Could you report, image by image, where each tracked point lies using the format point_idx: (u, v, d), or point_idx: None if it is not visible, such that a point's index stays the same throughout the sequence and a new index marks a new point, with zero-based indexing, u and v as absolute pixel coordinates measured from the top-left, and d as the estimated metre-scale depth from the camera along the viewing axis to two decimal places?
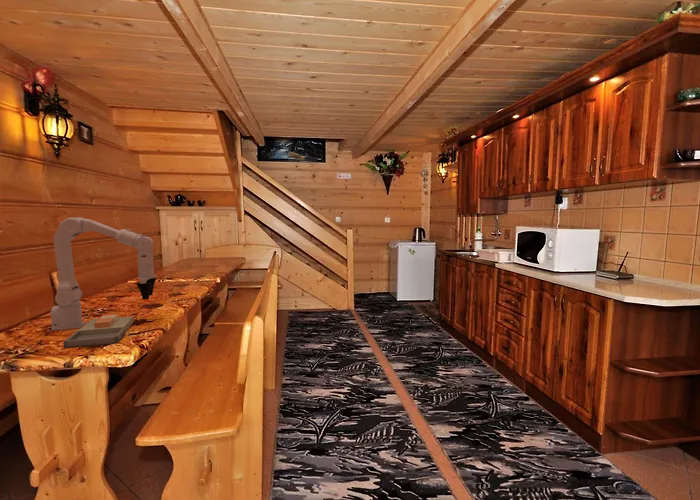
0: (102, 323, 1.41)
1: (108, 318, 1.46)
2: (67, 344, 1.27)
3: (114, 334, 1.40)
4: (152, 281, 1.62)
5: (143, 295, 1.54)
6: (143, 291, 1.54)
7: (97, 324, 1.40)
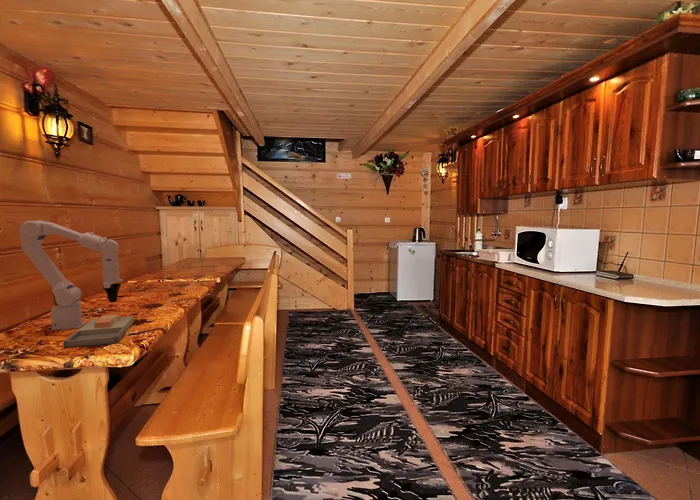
0: (102, 323, 1.41)
1: (108, 318, 1.46)
2: (67, 344, 1.27)
3: (114, 334, 1.40)
4: None
5: (110, 298, 1.54)
6: (110, 294, 1.54)
7: (97, 324, 1.40)
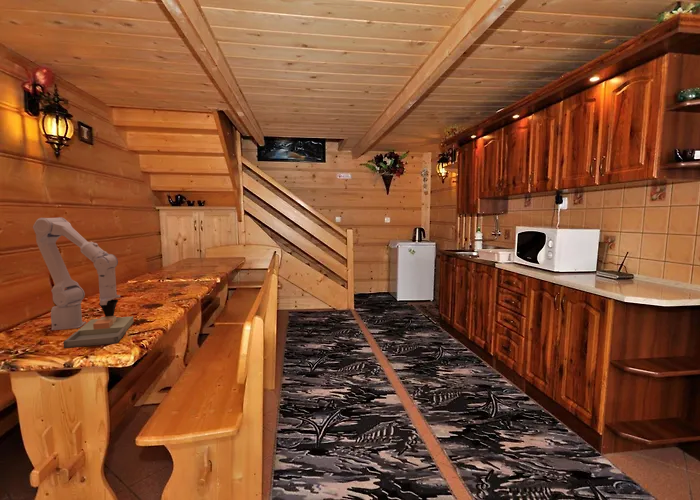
0: (101, 324, 1.40)
1: (107, 319, 1.45)
2: (67, 344, 1.27)
3: (114, 334, 1.40)
4: None
5: (107, 315, 1.49)
6: (107, 311, 1.49)
7: (96, 325, 1.39)
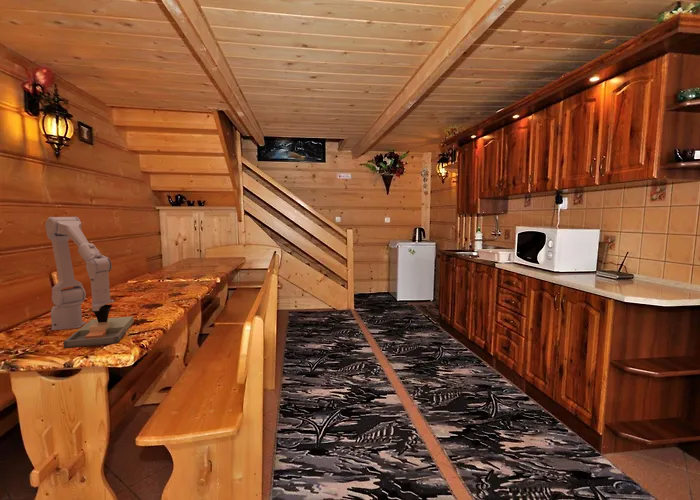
0: (93, 336, 1.32)
1: (99, 326, 1.36)
2: (67, 344, 1.27)
3: (114, 334, 1.40)
4: None
5: (100, 321, 1.41)
6: (100, 316, 1.41)
7: (88, 337, 1.31)
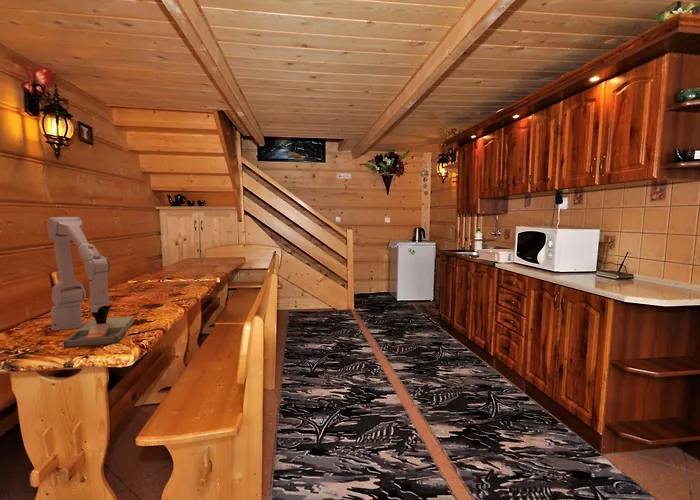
0: None
1: (98, 332, 1.35)
2: (67, 344, 1.27)
3: (114, 334, 1.40)
4: None
5: (98, 322, 1.39)
6: (98, 318, 1.39)
7: None
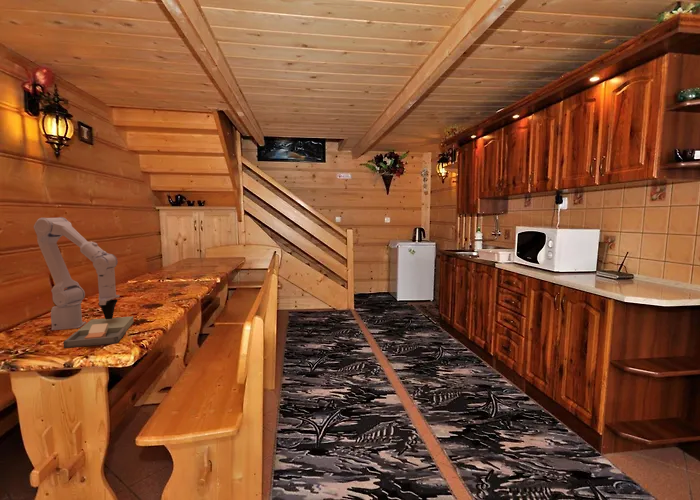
0: None
1: (98, 332, 1.35)
2: (67, 344, 1.27)
3: (114, 334, 1.40)
4: None
5: (106, 315, 1.48)
6: (106, 311, 1.48)
7: None
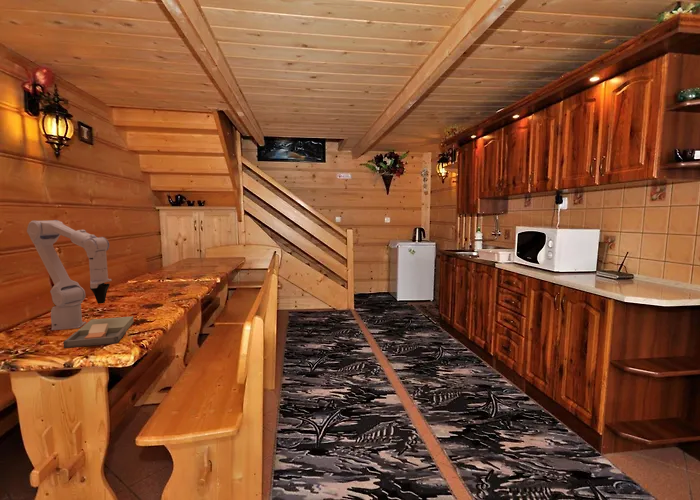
0: None
1: (98, 332, 1.35)
2: (67, 344, 1.27)
3: (114, 334, 1.40)
4: None
5: (98, 299, 1.45)
6: (98, 295, 1.45)
7: None
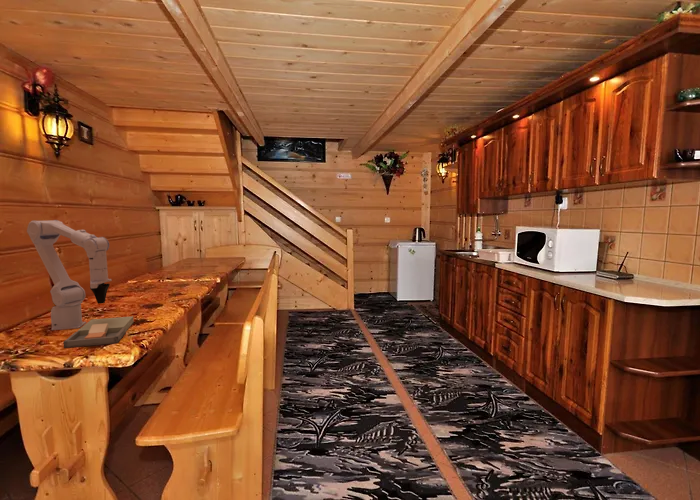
0: None
1: (98, 332, 1.35)
2: (67, 344, 1.27)
3: (114, 334, 1.40)
4: None
5: (98, 299, 1.45)
6: (98, 295, 1.45)
7: None
